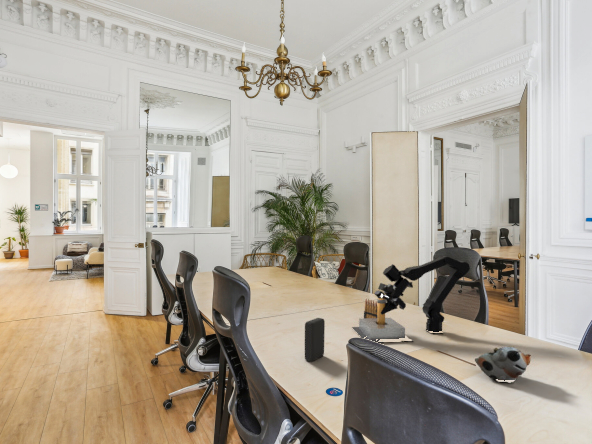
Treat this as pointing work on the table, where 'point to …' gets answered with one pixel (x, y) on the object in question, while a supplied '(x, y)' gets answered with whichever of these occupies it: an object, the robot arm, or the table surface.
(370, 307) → the ammunition clip
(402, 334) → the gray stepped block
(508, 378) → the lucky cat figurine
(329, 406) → the table surface
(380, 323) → the pin
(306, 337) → the card reader
